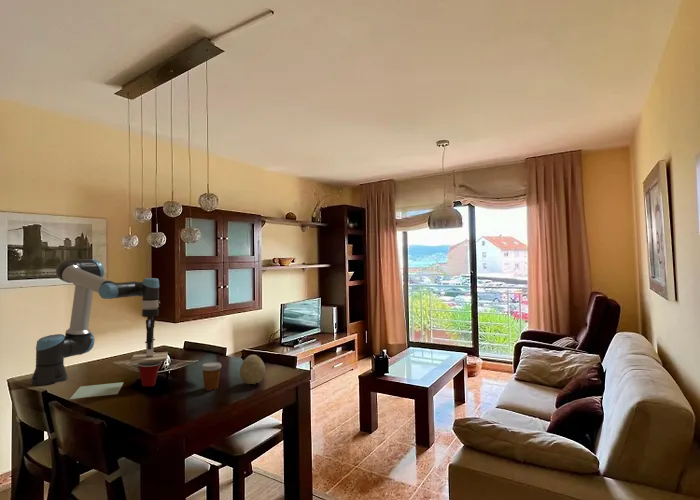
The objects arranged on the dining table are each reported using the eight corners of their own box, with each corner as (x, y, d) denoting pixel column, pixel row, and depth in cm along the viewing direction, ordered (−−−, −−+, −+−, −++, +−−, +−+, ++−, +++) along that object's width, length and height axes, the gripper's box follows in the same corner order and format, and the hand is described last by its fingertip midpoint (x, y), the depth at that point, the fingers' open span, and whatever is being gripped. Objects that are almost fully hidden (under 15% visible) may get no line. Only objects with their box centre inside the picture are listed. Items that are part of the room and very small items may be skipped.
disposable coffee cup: (200, 392, 188) (200, 367, 188) (202, 386, 197) (202, 362, 198) (220, 390, 191) (221, 366, 191) (221, 384, 200) (222, 361, 200)
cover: (133, 356, 202) (134, 337, 202) (167, 353, 208) (168, 334, 209) (129, 363, 187) (130, 343, 188) (166, 360, 194) (166, 340, 194)
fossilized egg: (252, 379, 209) (252, 351, 210) (270, 382, 203) (270, 354, 203) (234, 385, 198) (234, 355, 199) (252, 389, 192) (252, 359, 192)
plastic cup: (150, 389, 191) (151, 365, 191) (131, 388, 193) (132, 364, 194) (165, 383, 202) (166, 359, 202) (147, 381, 204) (147, 358, 204)
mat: (80, 387, 194) (80, 386, 194) (123, 383, 201) (123, 382, 201) (69, 400, 176) (69, 399, 176) (117, 394, 184) (117, 393, 184)
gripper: (157, 309, 193) (156, 357, 192) (159, 306, 207) (158, 350, 207) (140, 310, 190) (139, 359, 189) (143, 307, 204) (143, 351, 204)
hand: (149, 354), depth 198 cm, fingers closed on cover, 3 cm apart
